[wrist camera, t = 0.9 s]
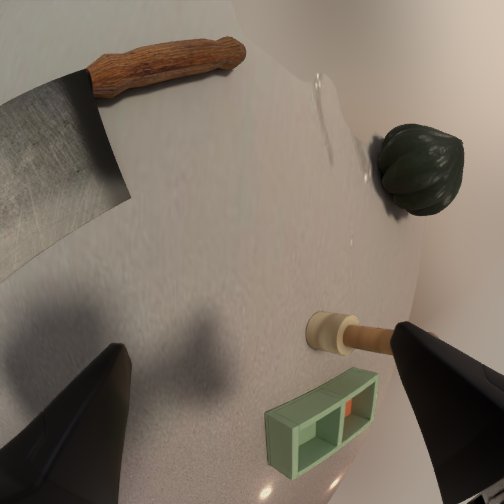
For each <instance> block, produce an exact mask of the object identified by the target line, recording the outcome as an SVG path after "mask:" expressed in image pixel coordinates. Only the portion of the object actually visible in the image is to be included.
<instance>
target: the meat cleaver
mask: <svg viewBox="0 0 504 504" xmlns="http://www.w3.org/2000/svg"><path fill="white" fill-rule="evenodd" d="M245 57H246V49H245V46H244V45H243V44H242V43H240V42H239V41H237V40H236V39H234V38H232V37H228V36H227V37H223V38H221V39H219V40H216V41H214V40H208V39H193V40H183V41H175V42H168V43H161V44H155V45H149V46H144V47H140V48H137V49H134V50H132V51H129V52H126V53H124V54H104V55H102V56H101V57H100V58H98V59H97V60H96V61H94V62H93V63H92V64H91V65H89V66H88V67H87V68H86V69H83V70H80V71H77V72H74V73H71V74H69V75H66V76H63V77H61V78H58V79H55V80H53V81H50V82H48V83H46V84H43V85H41V86H39V87H36V88H34V89H32V90H30V91H28V92H26V93H24V94H21V95H19V96H17V97H16V98H14V99H12V100H10V101H8V102H6V103H4V104H2V105H1V106H0V283H1V282H2V281H3V280H4V279H6V278H7V277H8V276H10V275H11V274H12V273H13V272H15V271H16V270H17V269H19V268H20V267H21V266H23V265H24V264H25V263H27V262H28V261H30V260H31V259H32V258H34V257H35V256H37V255H38V254H39V253H41V252H42V251H44V250H45V249H47V248H48V247H50V246H51V245H53V244H54V243H56V242H57V241H59V240H60V239H62V238H63V237H65V236H66V235H68V234H69V233H71V232H73V231H74V230H76V229H77V228H79V227H81V226H82V225H84V224H86V223H87V222H89V221H91V220H92V219H94V218H96V217H97V216H99V215H101V214H103V213H104V212H106V211H108V210H110V209H111V208H113V207H115V206H117V205H119V204H120V203H122V202H124V201H126V200H128V199H130V198H131V196H130V194H129V191H128V189H127V187H126V184H125V182H124V179H123V177H122V174H121V172H120V169H119V167H118V164H117V162H116V159H115V156H114V154H113V151H112V148H111V146H110V143H109V140H108V137H107V135H106V132H105V129H104V126H103V123H102V120H101V117H100V114H99V111H98V108H97V105H96V102H95V98H94V97H99V98H109V99H110V98H113V97H114V96H116V95H118V94H119V93H121V92H123V91H124V90H126V89H128V88H132V87H140V86H146V85H150V84H153V83H157V82H161V81H166V80H170V79H174V78H179V77H184V76H189V75H194V74H199V73H205V72H209V71H211V70H214V69H216V68H221V69H225V70H232V69H234V68H235V67H237V66H238V65H239V64H240V63H241V62H243V60H244V59H245Z"/></svg>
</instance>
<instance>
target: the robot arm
mask: <svg viewBox="0 0 504 504" xmlns="http://www.w3.org/2000/svg"><path fill="white" fill-rule="evenodd" d="M390 347H391V350H392V353H393V356H394V359H395V363H396V366H397V369H398V372H399V375H400V378H401V381H402V384H403V386H404V389H405V391H406V393H407V395H408V398H409V401H410V403H411V405H412V408H413V411H414V413H415V416H416V419H417V421H418V424H419V427H420V429H421V432H422V435H423V438H424V441H425V443H426V446H427V449H428V452H429V455H430V458H431V462H432V464H433V468H434V472H435V475H436V479H437V482H438V485H439V489H440V493H441V497H442V501H443V504H458V503H460V502H463V501H465V500H466V499H468V498H470V497H472V496H474V495H476V494H478V493H479V494H478V495H477V496H476V497H475V498H473V499H472V500H471V501H469V502H468V503H467V504H504V375H502V374H499V373H498V372H496V371H494V370H493V369H491V368H489V367H487V366H485V365H484V364H481V363H480V362H479V361H477V360H475V359H473V358H472V357H470V356H468V355H466V354H465V353H463V352H461V351H459V350H458V349H456V348H454V347H452V346H451V345H449V344H447V343H445V342H444V341H442V340H440V339H438V338H437V337H435V336H433V335H431V334H430V333H428V332H426V331H424V330H422V329H421V328H419V327H417V326H415V325H414V324H412V323H410V322H408V321H405V322H400V323H398V324H397V325H396V327H395V329H394V331H393V334H392V336H391V339H390ZM131 371H132V363H131V360H130V357H129V355H128V352H127V350H126V347H125V345H124V344H122V343H111V344H110V345H109V346H108V347H107V348H106V349H105V350H103V351H102V352H101V353H100V354H99V355H98V356H97V357H96V358H95V359H94V360H93V361H92V362H91V363H90V364H89V365H88V366H87V367H86V368H85V369H84V370H83V371H82V372H81V373H80V374H79V375H78V376H77V377H76V378H75V379H74V380H73V381H72V382H71V383H70V384H69V385H68V386H67V387H66V388H65V389H64V390H63V391H62V392H61V393H60V394H59V395H58V396H57V397H56V398H55V399H54V400H53V401H52V402H51V403H50V404H49V405H48V406H47V407H46V408H45V409H44V410H43V411H44V412H43V411H42V412H41V413H40V414H39V415H38V416H37V417H36V418H35V419H34V420H33V421H32V422H31V423H30V424H29V425H28V426H27V427H26V428H25V429H24V430H22V431H21V432H20V433H19V434H18V435H17V436H16V437H14V438H13V439H12V440H11V441H10V442H9V443H7V444H6V445H5V446H4V447H3V448H1V449H0V504H118V495H119V482H120V471H121V461H122V453H123V445H124V438H125V431H126V424H127V418H128V411H129V400H130V384H131ZM480 492H481V493H480Z"/></svg>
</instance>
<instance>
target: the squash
mask: <svg viewBox="0 0 504 504" xmlns="http://www.w3.org/2000/svg"><path fill="white" fill-rule="evenodd" d="M378 165H379V168H380V170H381V172H382V173H383V174H384V176H383V178H382V184H383V187H384V188H385V189H386V190H387V191H388V192H390V193H393V198H394V201H395V203H396V204H397V205H398V206H399V207H400V208H402V209H405V210H406V211H407V212H409V213H410V214H412V215H415V216H428V215H434V214H437V213H439V212H440V211H442V210H443V209H444V208H446V207H447V206H448V205H449V204H450V203H451V202H452V201H453V200H454V198H455V197H456V195H457V193H458V191H459V189H460V186H461V182H462V175H463V174H462V173H463V167H464V148H463V142H462V140H460V139H458V138H457V137H455V136H452V135H450V134H447V133H444V132H442V131H439V130H437V129H434V128H432V127H428V126H422V125H418V124H404V125H400V126H397V127H395V128H394V129H392V130H391V131H390V132H389V133H388V134H387V135H386V137H385V139H384V141H383V143H382V150H381V153H380V156H379V160H378Z"/></svg>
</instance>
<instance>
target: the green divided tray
mask: <svg viewBox="0 0 504 504" xmlns="http://www.w3.org/2000/svg"><path fill="white" fill-rule="evenodd" d="M378 379H379V373H375V372H371V371H366V370H362V369H358V368H354V367H353V368H352V369H350V370H348V371H347V372H345V373H343V374H341V375H340V376H338V377H336V378H334V379H333V380H331V381H329V382H327V383H325V384H324V385H322V386H320V387H318V388H316V389H314V390H312V391H310V392H308V393H306V394H304V395H302V396H300V397H298V398H296V399H294V400H292V401H290V402H288V403H286V404H284V405H281V406H279V407H277V408H275V409H272V410H270V411H268V412H266V413H265V422H266V438H267V453H268V464H269V465H271V466H272V467H273V468H275V469H276V470H278V471H279V472H280V473H282V474H283V475H285V476H286V477H288V478H289V479H291V480H294V479H295V478H297V477H299V476H300V475H302V474H304V473H305V472H307V471H308V470H310V469H311V468H313V467H315V466H316V465H318V464H319V463H321V462H322V461H323V460H325V459H326V458H328V457H329V456H331V455H332V454H333V453H335V452H336V451H337V450H339V449H340V448H342V447H343V446H344V445H346V444H347V443H348V442H349V441H351V440H352V439H353V438H354V437H356V436H357V435H358V434H359V433H361V432H362V431H363V430H364V429H365V428H367V427H368V426H369V425H370V424H371V423H372V422H373V419H374V412H375V405H376V397H377V389H378Z"/></svg>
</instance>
